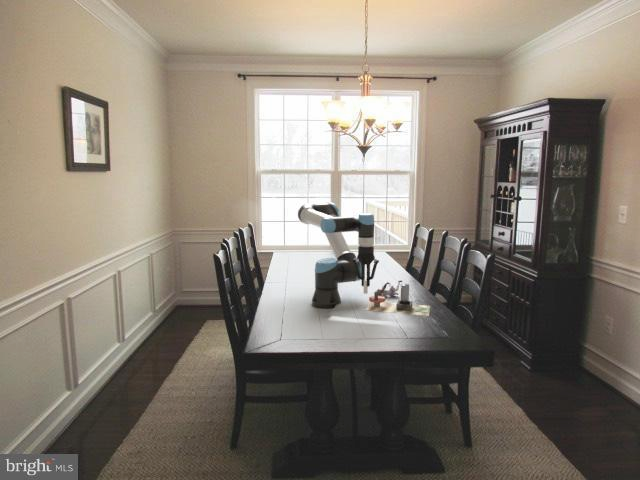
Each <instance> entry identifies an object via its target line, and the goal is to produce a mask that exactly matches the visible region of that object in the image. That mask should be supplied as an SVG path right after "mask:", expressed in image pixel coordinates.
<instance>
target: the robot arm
mask: <svg viewBox="0 0 640 480" xmlns="http://www.w3.org/2000/svg"><path fill="white" fill-rule="evenodd" d="M339 212H340V210H339V208H338V206H337V204H335V203H334V202H328V201H326V202H310V203H309V202H308V203H304V204H303V205H301V207H299V208H298V212H297V217H298V220H299V222H301V223H303V224H305V225H312V226H314V227H317V228H319V229H321V231H322V233H324V234H325V237H326V239H327V241H328V243H329V245H330V247H331V250H332V252H333V254H334V256H335V257H326V258H322V259H319V260H317V261H316V262H315V264H314V265H315V266H314V278H315V279H314V285H315V286H314V287H315V289H314V292H313V295H312V299H311V305H312V306H313V307H315V308H319V309H333V308H335V307H336V306H337V305H339V304H341V303H342V298H341V295H340V292H339V287H338V286H339V285H338V284H342V283H351V282H358V281H361V287H363V294H365V295H366V294H367V293H368V292H369V290H368V287H370V285H371V284H370V283H371V280H373V279H374V277H375V274H376V273H375V272H376V270H377V266H378V264H379V263H380V260H379V259H377V258H376V257H375V252H374V251H375V247H374V245H375V215H374V214H373V213H368V212H367V213H366V212H365V213H360V214H358V215H349V216H340V213H339ZM346 232H347V233H348V232H350V233H351V232H358V238H357V239H358V247H357V249H358V251H357V252H358V254H357V255H356V254H355V253H354V252H351V250H350V247H349V246H348V243H347V242H346V239H345V237H344V235H343V233H346ZM372 263H373V265H372V270H371V264H372Z"/></svg>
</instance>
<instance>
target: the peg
mask: <svg viewBox="0 0 640 480" xmlns="http://www.w3.org/2000/svg"><path fill="white" fill-rule="evenodd" d="M400 300H401V301H400V304H408V305H409V301H410V284H408V283H401V284H400Z"/></svg>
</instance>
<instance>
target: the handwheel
mask: <svg viewBox="0 0 640 480" xmlns="http://www.w3.org/2000/svg"><path fill="white" fill-rule="evenodd" d="M373 294H374V295H371V296H369V297H368V301H369V303H370V302H374V307H380V303H382V302H386V297H384V296H383V295H382V296H378V292H377V290H375V291H374V293H373Z"/></svg>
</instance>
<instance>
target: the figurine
mask: <svg viewBox="0 0 640 480" xmlns="http://www.w3.org/2000/svg"><path fill="white" fill-rule="evenodd" d="M402 282H403V280H398V283H397V286H396V288H395V287H394V285H391V283H390V282H388V281H387V282H386V283H384V284H382V287H381V289H380V288H378V289H377V290H376V291H377V292H378V296H382V297H385V298H388V297H390V298H391V297H394V298H395V297H397V296H399V293H398V291H399V287H400V285H401V284H400V283H402ZM387 285H389V286H388V287H390V288H389V289H386V288H387ZM396 295H397V296H396Z"/></svg>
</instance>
